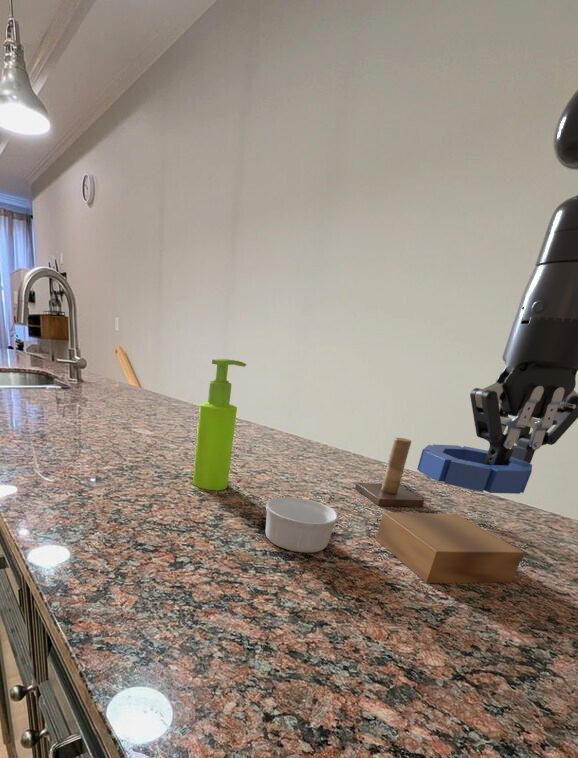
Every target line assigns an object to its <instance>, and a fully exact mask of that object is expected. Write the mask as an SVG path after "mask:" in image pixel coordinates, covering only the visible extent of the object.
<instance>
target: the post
mask: <svg viewBox="0 0 578 758" xmlns="http://www.w3.org/2000/svg"><path fill="white" fill-rule="evenodd" d="M411 445H412V440H411V439H409V438H404V437H394V439H393V442H392V446H391V450H390V454H389V458H388V461H387V465H386V470H385V473H384V477H383V481H382V483H373V482H356V483H355V486H354V490H355V491H357V492H359V493H360V494H361V495H362V496H364V497H366V499H369V501H371V502H372V503H374V504H375V505H377V506H378V507H408V508H409V507H410V508H411V507H412V508H413V507H414V508H422V507H423V506H424V503H425V500H424V499H423V498H421V497H419V496H418V495H416V494H414V493H412V492H411V491H409V490H407V489H406V488H404V487H403V486H401V485H400V484H401V481H402V476H403V474H404V470H405V465H406V462H407V458H408V456H409V451H410V449H411Z"/></svg>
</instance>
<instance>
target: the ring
mask: <svg viewBox="0 0 578 758" xmlns="http://www.w3.org/2000/svg"><path fill="white" fill-rule="evenodd" d="M487 453H488V450H487V449H481V448H476V447H470V446H465V445H464V446H461V445H455V444H435V443H434V444H428V445H427V446H425V447H424V448H422V451H421V454H420V457H419V462H418V465H417V468H416V469H417V471H418V472H419V473H421V474H423V475H425V476H427V477H429V478H431V479H433V480H435V481H437V482H444V484H445V485H450V486H455V487H458V488H463V489H468V490H471V491H477V492H480V493H483V492H487V493H489V494H513V495H514V494H516V495H520V494H524V492H525V490H526V488H527V486H528V483H529V480H530V478H531V475H532V472H533V464H532V463H530V464H529V463H528V462H525V461H523V460H520V459H517V458H514V457H511V458H510V460H509V462H508V465H507V466H503V465H486V464H484V463H485V459H486V456H487Z"/></svg>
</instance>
